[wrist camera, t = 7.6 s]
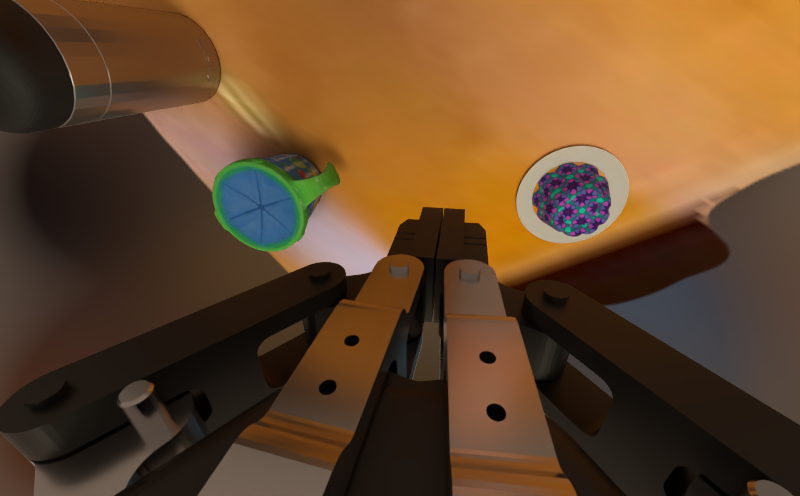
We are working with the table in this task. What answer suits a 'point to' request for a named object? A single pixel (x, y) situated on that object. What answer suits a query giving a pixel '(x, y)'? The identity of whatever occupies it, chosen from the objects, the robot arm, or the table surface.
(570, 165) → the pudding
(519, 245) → the table surface
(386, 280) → the robot arm
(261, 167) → the snack cup
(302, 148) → the table surface
